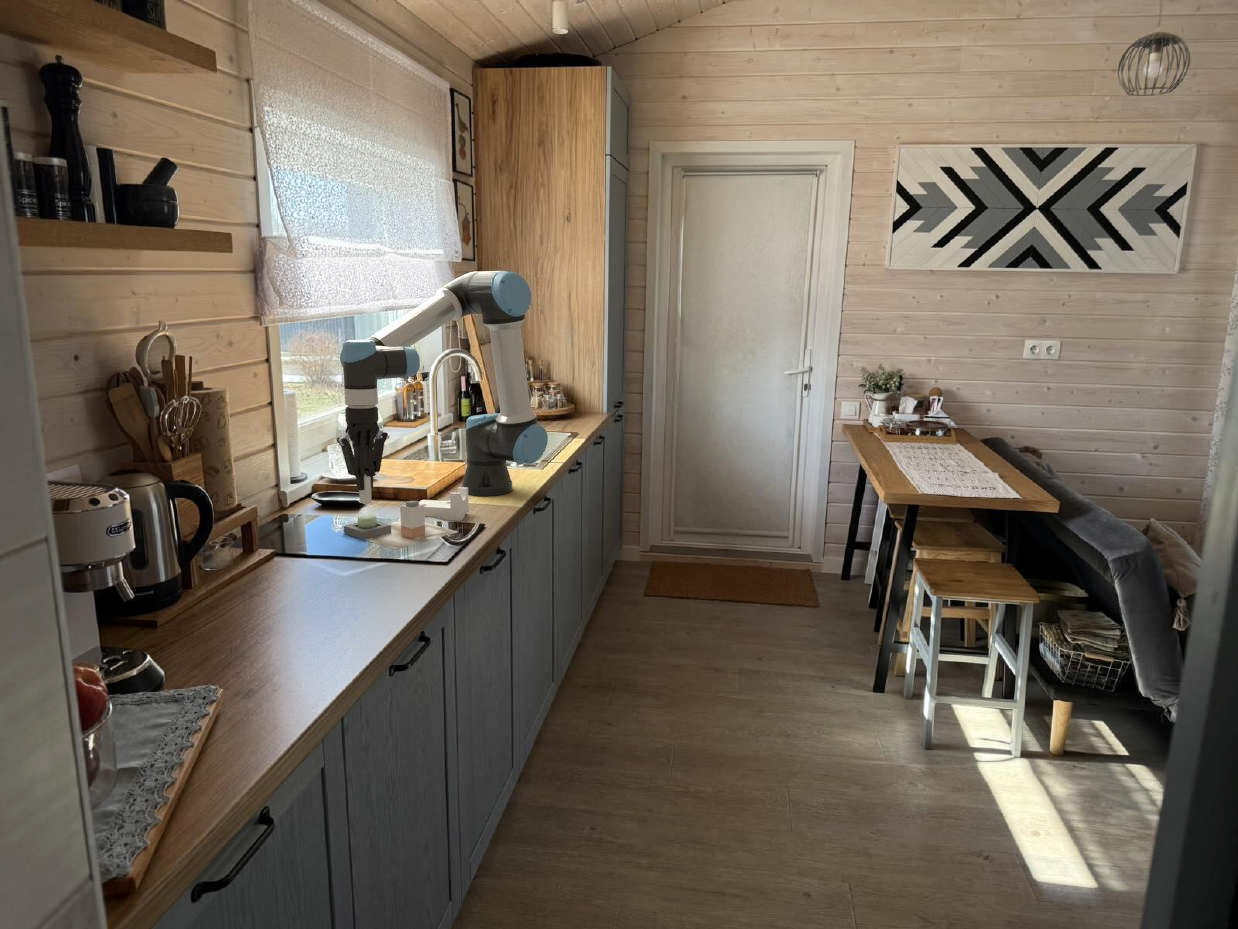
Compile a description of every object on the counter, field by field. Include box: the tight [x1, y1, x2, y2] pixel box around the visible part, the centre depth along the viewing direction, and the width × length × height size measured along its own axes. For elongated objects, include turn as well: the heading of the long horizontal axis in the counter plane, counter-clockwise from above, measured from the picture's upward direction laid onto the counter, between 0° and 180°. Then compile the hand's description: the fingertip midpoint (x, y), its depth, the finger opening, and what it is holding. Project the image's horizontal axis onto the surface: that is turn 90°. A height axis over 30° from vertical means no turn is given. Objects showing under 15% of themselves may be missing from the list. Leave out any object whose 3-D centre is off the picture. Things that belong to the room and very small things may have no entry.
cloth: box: [365, 520, 458, 550], centre depth 212 cm, size 21×21×1 cm
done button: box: [357, 514, 378, 529], centre depth 210 cm, size 4×4×2 cm
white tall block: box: [399, 500, 426, 539], centre depth 209 cm, size 4×4×8 cm
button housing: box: [343, 520, 391, 541], centre depth 211 cm, size 8×8×2 cm
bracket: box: [418, 486, 470, 522], centre depth 230 cm, size 13×7×8 cm, turn 82°
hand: (365, 502), depth 209 cm, fingers closed
